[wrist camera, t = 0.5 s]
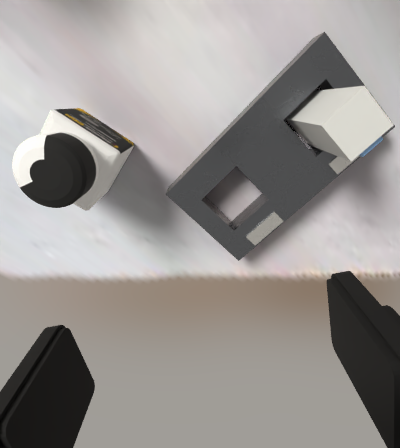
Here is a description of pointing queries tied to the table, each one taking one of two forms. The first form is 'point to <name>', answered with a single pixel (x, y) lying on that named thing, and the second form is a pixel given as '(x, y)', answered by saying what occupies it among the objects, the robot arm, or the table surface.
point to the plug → (341, 121)
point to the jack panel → (268, 153)
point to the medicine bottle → (70, 160)
